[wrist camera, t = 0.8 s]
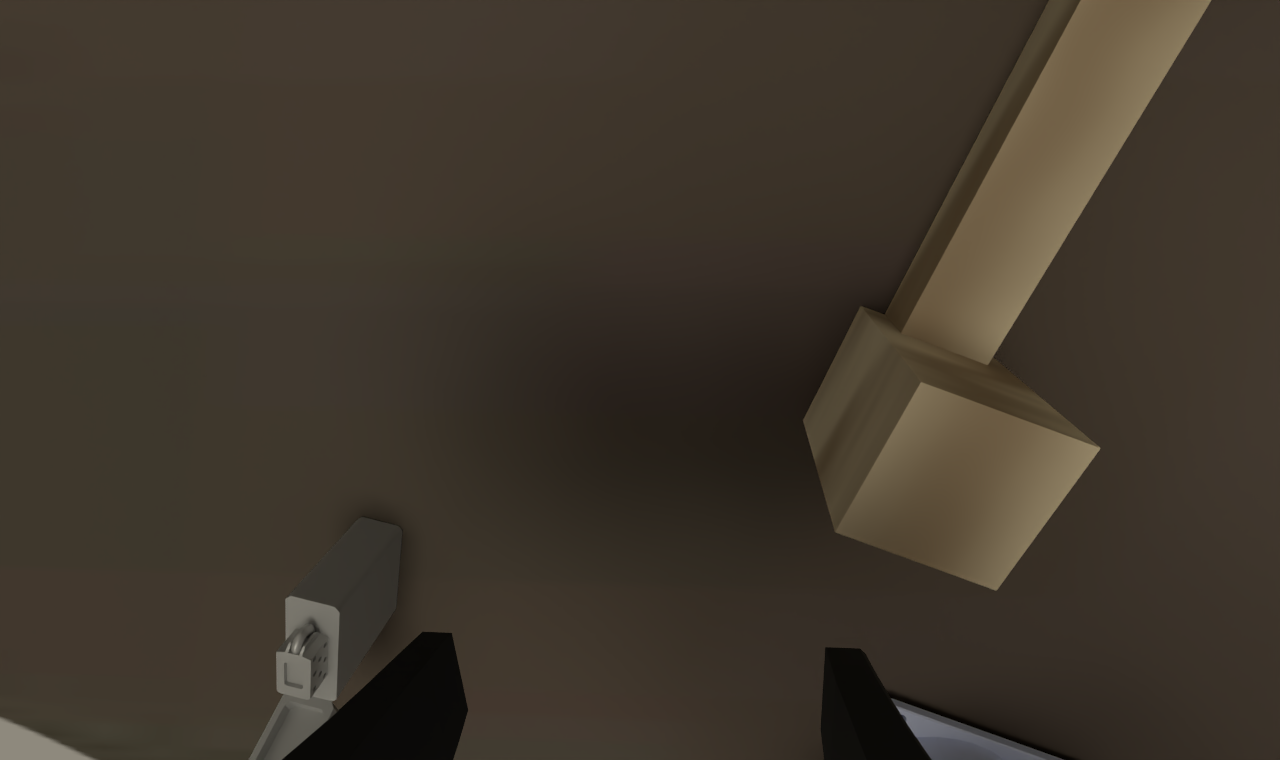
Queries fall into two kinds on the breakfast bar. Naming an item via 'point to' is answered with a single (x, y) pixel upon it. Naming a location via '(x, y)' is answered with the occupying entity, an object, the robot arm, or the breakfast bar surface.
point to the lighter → (331, 631)
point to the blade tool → (987, 309)
